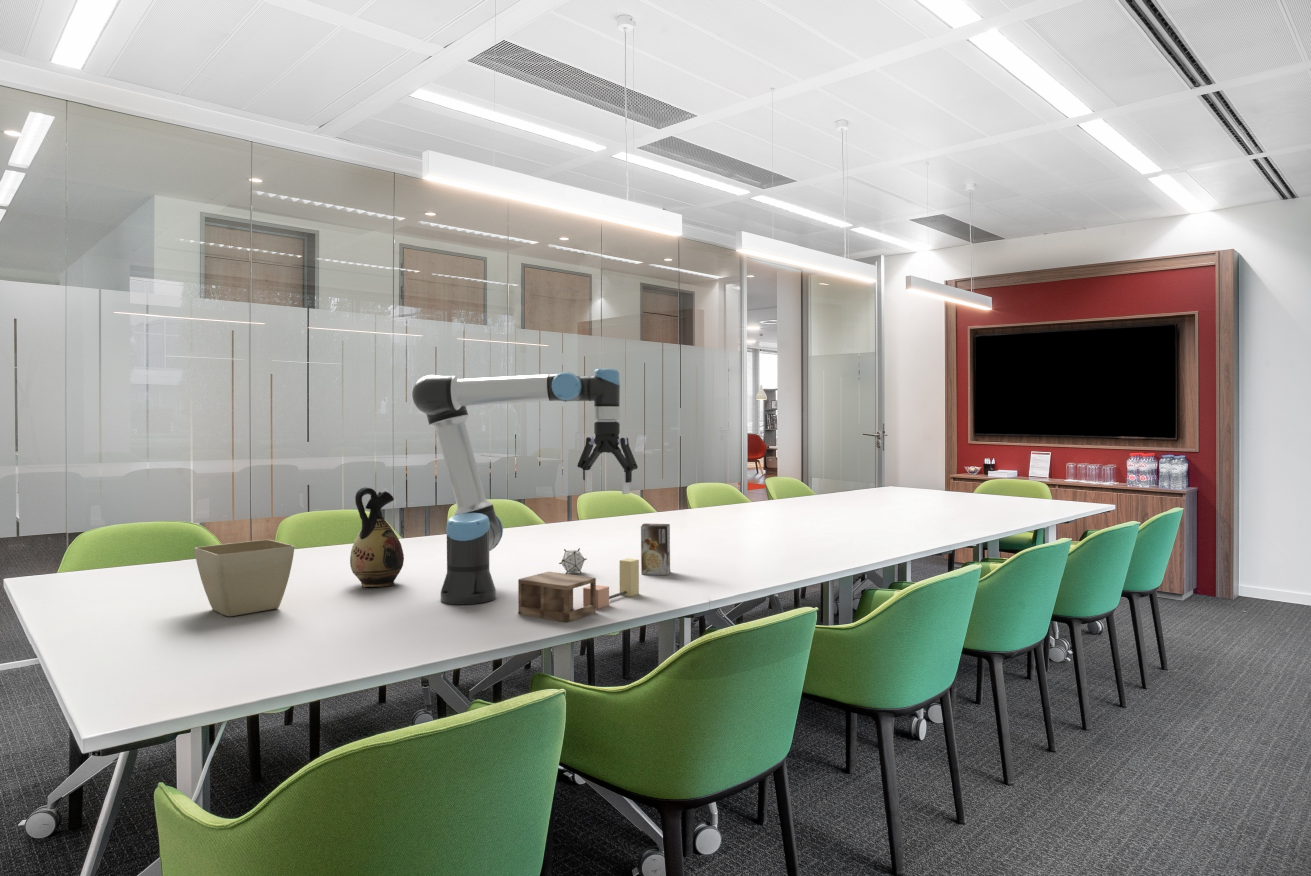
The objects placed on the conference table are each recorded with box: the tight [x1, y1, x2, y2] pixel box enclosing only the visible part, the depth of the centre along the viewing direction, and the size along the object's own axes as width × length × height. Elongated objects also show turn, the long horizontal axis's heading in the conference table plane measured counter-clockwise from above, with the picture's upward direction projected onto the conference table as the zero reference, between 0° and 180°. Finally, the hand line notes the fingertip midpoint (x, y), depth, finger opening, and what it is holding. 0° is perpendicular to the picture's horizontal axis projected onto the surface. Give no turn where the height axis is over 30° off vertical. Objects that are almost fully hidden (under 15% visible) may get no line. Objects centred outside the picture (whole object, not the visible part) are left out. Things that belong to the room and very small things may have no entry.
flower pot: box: [193, 539, 296, 617], centre depth 204 cm, size 19×19×17 cm
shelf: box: [517, 571, 597, 623], centre depth 200 cm, size 12×16×9 cm
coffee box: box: [640, 523, 671, 576], centre depth 253 cm, size 9×6×16 cm
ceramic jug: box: [349, 486, 405, 588], centre depth 234 cm, size 17×15×30 cm
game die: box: [558, 547, 588, 574], centre depth 253 cm, size 9×8×10 cm
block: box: [582, 558, 640, 610], centre depth 215 cm, size 20×5×10 cm, turn 148°
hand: (606, 492), depth 228 cm, fingers open, 13 cm apart
